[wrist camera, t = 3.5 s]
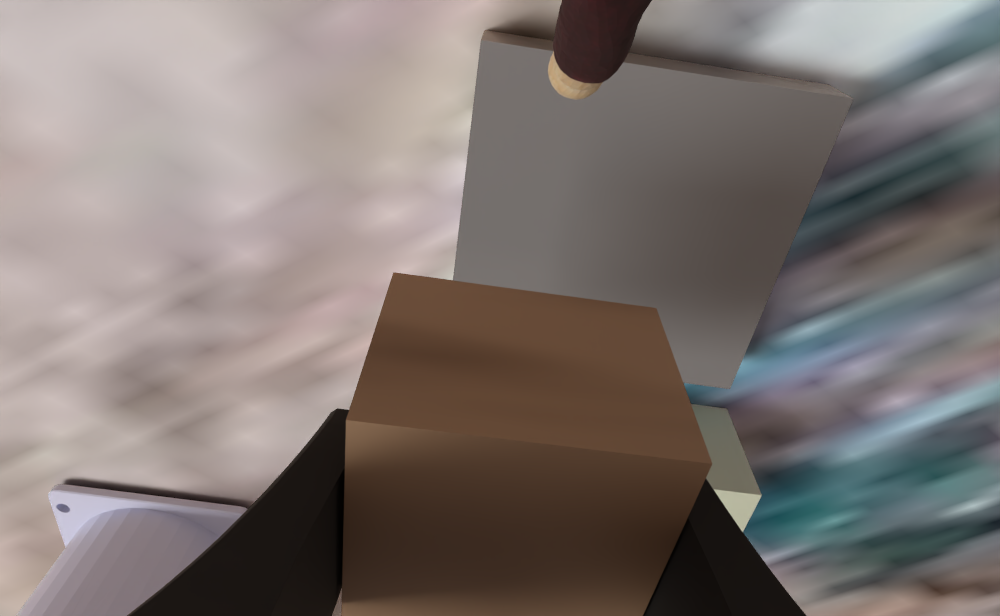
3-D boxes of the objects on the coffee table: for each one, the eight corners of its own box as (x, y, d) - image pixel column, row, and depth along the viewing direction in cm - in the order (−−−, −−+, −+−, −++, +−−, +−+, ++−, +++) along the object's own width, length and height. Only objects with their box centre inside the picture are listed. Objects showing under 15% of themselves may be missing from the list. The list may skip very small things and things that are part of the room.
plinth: (717, 360, 21) (729, 388, 20) (449, 323, 21) (444, 350, 20) (828, 84, 16) (853, 98, 15) (485, 29, 16) (481, 39, 15)
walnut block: (596, 487, 15) (622, 660, 11) (380, 463, 14) (340, 633, 11) (656, 308, 12) (713, 464, 9) (393, 272, 12) (346, 420, 8)
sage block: (692, 485, 25) (719, 577, 21) (590, 472, 24) (600, 563, 21) (726, 407, 22) (761, 495, 19) (614, 392, 22) (630, 478, 19)
